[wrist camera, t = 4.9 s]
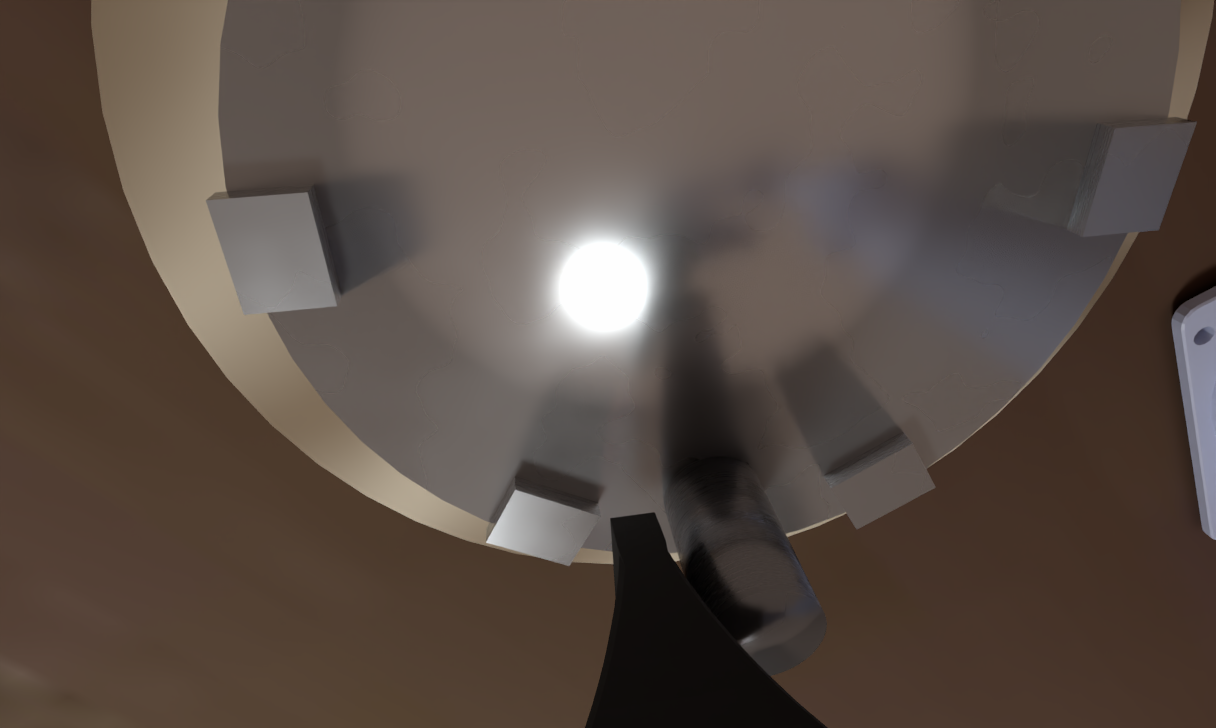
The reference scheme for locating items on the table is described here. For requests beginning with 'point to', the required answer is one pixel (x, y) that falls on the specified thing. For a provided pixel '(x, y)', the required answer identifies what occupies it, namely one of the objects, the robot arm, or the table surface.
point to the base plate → (195, 264)
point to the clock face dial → (685, 247)
